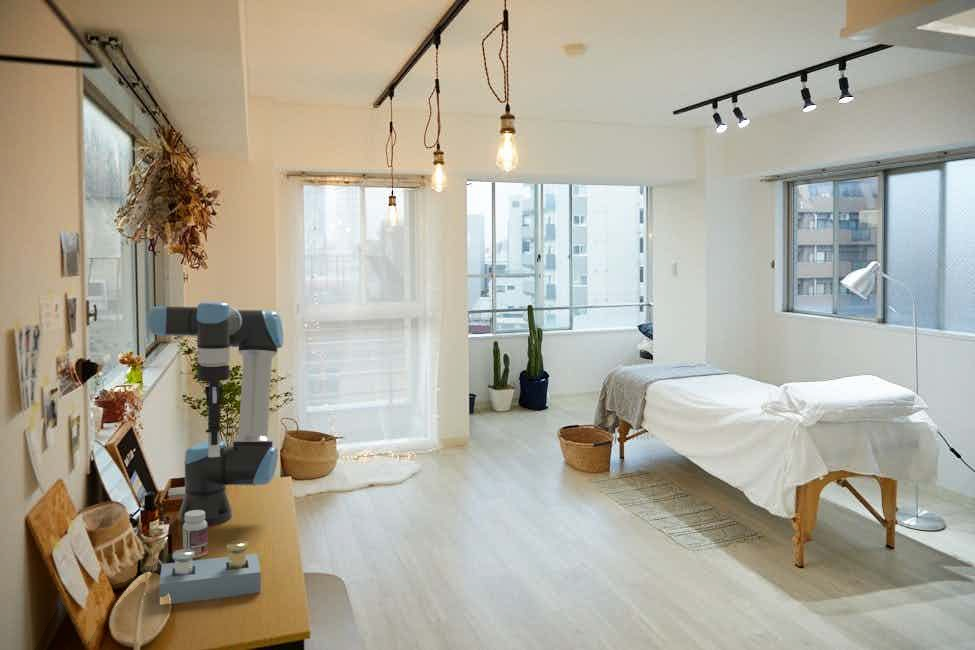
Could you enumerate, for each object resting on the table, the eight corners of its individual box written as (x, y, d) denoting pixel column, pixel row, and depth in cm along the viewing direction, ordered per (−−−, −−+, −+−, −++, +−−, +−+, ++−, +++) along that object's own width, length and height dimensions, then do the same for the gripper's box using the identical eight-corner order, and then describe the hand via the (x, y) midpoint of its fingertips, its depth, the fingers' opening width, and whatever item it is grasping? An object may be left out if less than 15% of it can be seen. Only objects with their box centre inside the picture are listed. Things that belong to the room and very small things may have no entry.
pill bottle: (212, 551, 198) (212, 510, 197) (198, 559, 192) (198, 517, 191) (192, 548, 199) (192, 508, 198) (177, 557, 193) (177, 515, 192)
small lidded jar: (173, 584, 174) (173, 550, 173) (194, 582, 176) (194, 547, 175) (172, 593, 169) (172, 557, 169) (194, 590, 171) (194, 555, 171)
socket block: (162, 584, 176) (161, 564, 176) (257, 572, 184) (257, 553, 184) (159, 605, 165) (159, 584, 165) (260, 592, 173) (260, 572, 173)
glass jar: (226, 575, 178) (226, 541, 178) (247, 573, 180) (247, 539, 179) (227, 583, 174) (227, 548, 173) (248, 581, 175) (248, 546, 175)
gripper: (197, 360, 187) (197, 450, 189) (197, 368, 175) (198, 464, 177) (228, 359, 190) (228, 448, 192) (230, 367, 178) (231, 462, 180)
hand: (214, 456), depth 184 cm, fingers closed
